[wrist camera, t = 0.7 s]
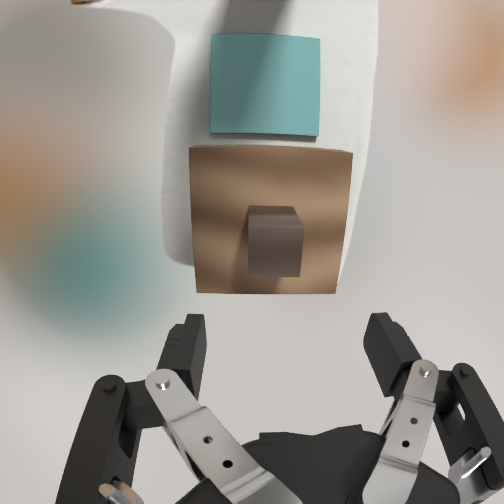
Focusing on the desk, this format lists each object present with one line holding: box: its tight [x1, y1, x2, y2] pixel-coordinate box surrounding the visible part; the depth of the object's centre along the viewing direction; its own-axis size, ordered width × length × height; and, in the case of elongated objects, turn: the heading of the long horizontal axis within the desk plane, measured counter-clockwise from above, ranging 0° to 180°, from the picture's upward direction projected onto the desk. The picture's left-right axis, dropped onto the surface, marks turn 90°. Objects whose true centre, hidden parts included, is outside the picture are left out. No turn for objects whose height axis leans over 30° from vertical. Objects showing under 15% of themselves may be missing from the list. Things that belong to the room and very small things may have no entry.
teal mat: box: [210, 34, 320, 136], centre depth 34 cm, size 15×15×1 cm
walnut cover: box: [189, 145, 353, 294], centre depth 26 cm, size 15×15×10 cm
